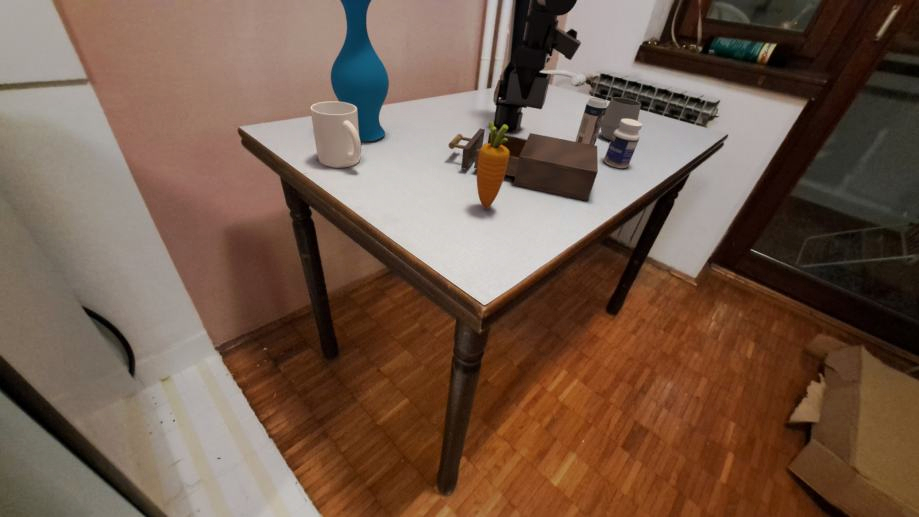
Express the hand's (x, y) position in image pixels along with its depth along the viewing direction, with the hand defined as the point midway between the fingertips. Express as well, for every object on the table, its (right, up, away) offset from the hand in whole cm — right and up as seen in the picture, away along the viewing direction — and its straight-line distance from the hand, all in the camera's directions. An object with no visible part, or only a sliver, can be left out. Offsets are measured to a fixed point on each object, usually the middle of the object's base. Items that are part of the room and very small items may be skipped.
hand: (526, 95), depth 80 cm
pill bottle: (+23, -13, +7) cm, 27 cm away
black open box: (0, -1, +1) cm, 2 cm away
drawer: (-8, -15, -1) cm, 17 cm away
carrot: (-10, -27, -16) cm, 33 cm away
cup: (+28, -2, +22) cm, 36 cm away
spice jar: (+16, -9, +12) cm, 22 cm away
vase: (-38, -7, +6) cm, 39 cm away
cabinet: (+5, -19, -3) cm, 20 cm away
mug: (-38, -17, -7) cm, 42 cm away
